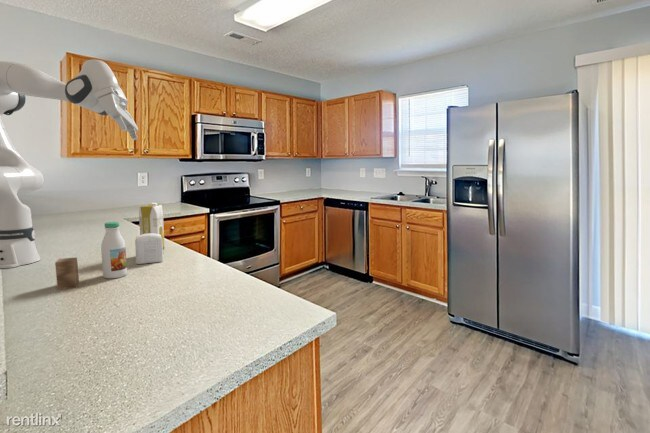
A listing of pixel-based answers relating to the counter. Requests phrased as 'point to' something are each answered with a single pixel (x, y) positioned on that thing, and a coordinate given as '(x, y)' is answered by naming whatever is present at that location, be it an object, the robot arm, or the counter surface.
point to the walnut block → (67, 273)
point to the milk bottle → (113, 252)
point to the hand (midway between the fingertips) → (130, 134)
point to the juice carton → (151, 220)
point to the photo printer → (149, 248)
